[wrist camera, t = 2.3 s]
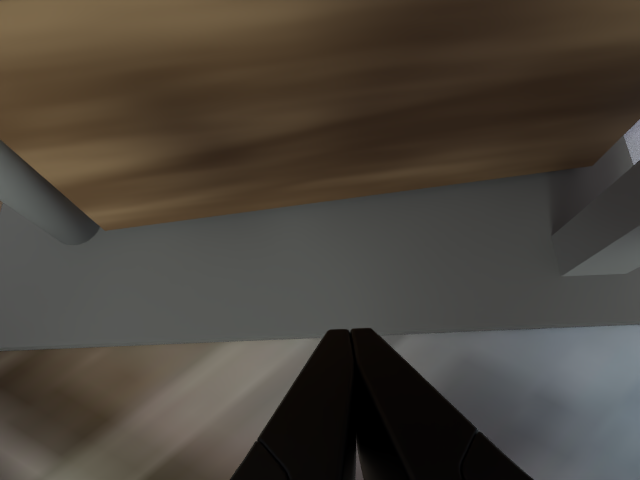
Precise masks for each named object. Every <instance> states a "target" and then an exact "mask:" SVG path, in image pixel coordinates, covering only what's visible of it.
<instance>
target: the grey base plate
mask: <svg viewBox="0 0 640 480" xmlns="http://www.w3.org/2000/svg"><path fill="white" fill-rule="evenodd" d="M0 201H2V202H3V204H2V208H1V212H0V351H13V350H37V349H61V348H85V347H109V346H133V345H157V344H181V343H205V342H229V341H253V340H277V339H301V338H323V337H324V335H325V334H326V332H327V331H328V330H330V329H348V330H349V332H350V330H351V329H353V328H371V329H373V330H374V331H375V332H376V333H377V334H378V335H397V334H421V333H445V332H468V331H492V330H516V329H540V328H564V327H588V326H612V325H636V324H640V161H638V162H637V163H636V164H635V165H634V166H633V163H632V160H631V157H630V154H629V151H628V148H627V145H626V142H625V139H624V136H622V137H621V138H620V139H619V140H618V141H617V142H616V143H615V144H614V145H613V146H612V147H611V148H610V149H609V150H608V151H607V152H606V153H605V154H604V155H603V156H602V157H601V158H600V159H599V160H598V161H597V162H596V163H595V164H594V165H593V166H588V167H581V168H573V169H566V170H558V171H551V172H543V173H536V174H528V175H521V176H513V177H506V178H498V179H491V180H483V181H476V182H468V183H461V184H453V185H446V186H438V187H430V188H423V189H415V190H408V191H400V192H393V193H385V194H378V195H370V196H363V197H355V198H348V199H340V200H333V201H325V202H318V203H310V204H303V205H295V206H288V207H280V208H273V209H265V210H258V211H250V212H243V213H235V214H228V215H220V216H213V217H205V218H198V219H190V220H183V221H175V222H168V223H160V224H153V225H145V226H138V227H130V228H123V229H115V230H108V231H104V230H103V229H102V228H101V227H100V226H99V225H98V224H96V223H95V222H94V221H93V220H92V219H91V218H90V217H88V216H87V215H86V214H85V213H84V212H83V211H82V210H80V209H79V208H78V207H77V206H76V205H75V204H74V203H72V202H71V201H70V200H69V199H68V198H67V197H66V196H64V195H63V194H62V193H61V192H60V191H59V190H58V189H56V188H55V187H54V186H53V185H52V184H51V183H50V182H48V181H47V180H46V179H45V178H44V177H43V176H42V175H40V174H39V173H38V172H37V171H36V170H35V169H34V168H32V167H31V166H30V165H29V164H28V163H27V162H26V161H24V160H23V159H22V158H21V157H20V156H19V155H18V154H16V153H15V152H14V151H13V150H12V149H11V148H10V147H8V146H7V145H6V144H5V143H4V142H3V141H1V140H0Z"/></svg>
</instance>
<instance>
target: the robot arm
mask: <svg viewBox="0 0 640 480" xmlns="http://www.w3.org/2000/svg"><path fill="white" fill-rule="evenodd" d="M356 440H357V448H358V454H359V459H360V464H361V469H362V473H363V478H364V480H534V479H532V478H531V477H530V476H529V475H528V474H526V473H525V472H524V471H523V470H522V469H520V468H519V467H518V466H517V465H516V464H515V463H514V462H513V461H512V460H510V459H509V458H508V457H507V456H506V455H505V454H504V453H503V452H502V451H500V450H499V449H498V448H497V447H496V446H495V445H494V444H493V443H492V442H491V441H490V440H489V439H488V438H487V437H486V436H484V435H483V434H482V433H481V432H478V430H477V428H476V427H475V426H474V425H473V424H472V423H471V422H470V421H468V420H467V419H466V418H465V417H464V416H463V415H462V414H461V413H460V412H459V411H458V410H457V409H456V408H455V407H454V406H453V405H452V404H451V403H450V402H449V401H447V400H446V399H445V398H444V397H443V396H442V395H441V394H440V393H439V392H438V391H437V390H436V389H435V388H434V387H433V386H432V385H431V384H430V383H429V382H428V381H426V380H425V379H424V378H423V377H422V376H421V375H420V374H419V373H418V372H417V371H416V370H415V369H414V368H413V367H412V366H411V365H410V364H409V363H408V362H407V361H405V360H404V359H403V358H402V357H401V356H400V355H399V354H398V353H397V352H396V351H395V350H394V349H393V348H392V347H391V346H390V345H389V344H388V343H387V342H386V341H384V340H383V339H382V338H381V337H380V336H379V335H378V334H377V333H376V332H375V331H374V330H373V329H371V328H353V329H351V330H350V332H349V330H348V329H330V330H328V331H327V332H326V334H325V335H324V337H323V338H322V340H321V341H320V343H319V344H318V346H317V348H316V349H315V351H314V352H313V354H312V355H311V357H310V358H309V360H308V361H307V363H306V365H305V366H304V368H303V369H302V371H301V372H300V374H299V375H298V377H297V378H296V380H295V382H294V383H293V385H292V386H291V388H290V389H289V391H288V392H287V394H286V395H285V397H284V399H283V400H282V402H281V403H280V405H279V406H278V408H277V409H276V411H275V412H274V414H273V416H272V417H271V419H270V420H269V422H268V423H267V425H266V426H265V428H264V429H263V431H262V433H261V434H260V436H259V437H258V439H257V441H256V442H255V443H254V445H253V446H252V448H251V449H250V451H249V452H248V454H247V455H246V457H245V459H244V460H243V461H242V463H241V464H240V466H239V467H238V469H237V470H236V471H235V473H234V474H233V476H232V477H231V479H230V480H355V474H356Z"/></svg>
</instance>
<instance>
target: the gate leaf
mask: <svg viewBox="0 0 640 480" xmlns="http://www.w3.org/2000/svg"><path fill="white" fill-rule="evenodd" d="M639 119H640V0H0V140H1V141H3V142H4V143H5V144H6V145H7V146H8V147H10V148H11V149H12V150H13V151H14V152H15V153H16V154H18V155H19V156H20V157H21V158H22V159H23V160H24V161H26V162H27V163H28V164H29V165H30V166H31V167H32V168H34V169H35V170H36V171H37V172H38V173H39V174H40V175H42V176H43V177H44V178H45V179H46V180H47V181H48V182H50V183H51V184H52V185H53V186H54V187H55V188H56V189H58V190H59V191H60V192H61V193H62V194H63V195H64V196H66V197H67V198H68V199H69V200H70V201H71V202H72V203H74V204H75V205H76V206H77V207H78V208H79V209H80V210H82V211H83V212H84V213H85V214H86V215H87V216H88V217H90V218H91V219H92V220H93V221H94V222H95V223H96V224H98V225H99V226H100V227H101V228H102V229H103V230H104V231H108V230H115V229H123V228H130V227H138V226H145V225H153V224H160V223H168V222H175V221H183V220H190V219H198V218H205V217H213V216H220V215H228V214H235V213H243V212H250V211H258V210H265V209H273V208H280V207H288V206H295V205H303V204H310V203H318V202H325V201H333V200H340V199H348V198H355V197H363V196H370V195H378V194H385V193H393V192H400V191H408V190H415V189H423V188H430V187H438V186H446V185H453V184H461V183H468V182H476V181H483V180H491V179H498V178H506V177H513V176H521V175H528V174H536V173H543V172H551V171H558V170H566V169H573V168H581V167H588V166H593V165H594V164H595V163H596V162H597V161H598V160H599V159H600V158H601V157H602V156H603V155H604V154H605V153H606V152H607V151H608V150H609V149H610V148H611V147H612V146H613V145H614V144H615V143H616V142H617V141H618V140H619V139H620V138H621V137H622V136H623V135H624V134H625V133H626V132H627V131H628V130H629V129H630V128H631V127H632V126H633V125H634V124H635V123H636V122H637V121H638V120H639Z"/></svg>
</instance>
